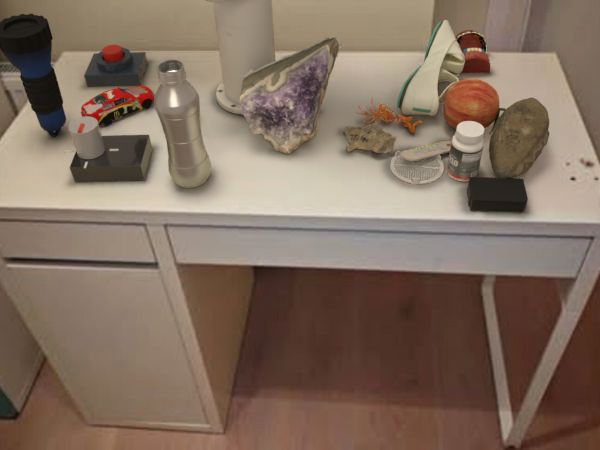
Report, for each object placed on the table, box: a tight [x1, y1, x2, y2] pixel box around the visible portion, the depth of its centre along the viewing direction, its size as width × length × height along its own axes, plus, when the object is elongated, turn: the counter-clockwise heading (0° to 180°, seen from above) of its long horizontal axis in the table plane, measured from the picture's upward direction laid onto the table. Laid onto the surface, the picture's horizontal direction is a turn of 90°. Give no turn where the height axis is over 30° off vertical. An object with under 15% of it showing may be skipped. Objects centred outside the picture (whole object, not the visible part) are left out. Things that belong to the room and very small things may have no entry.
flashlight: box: [0, 13, 67, 138], centre depth 105 cm, size 8×8×20 cm
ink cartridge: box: [466, 176, 529, 214], centre depth 96 cm, size 5×2×8 cm
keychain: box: [401, 140, 452, 161], centre depth 104 cm, size 10×1×3 cm
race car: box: [80, 84, 155, 127], centre depth 115 cm, size 13×5×4 cm, turn 126°
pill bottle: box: [446, 121, 486, 182], centre depth 98 cm, size 5×5×8 cm
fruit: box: [442, 78, 507, 135], centre depth 106 cm, size 9×10×10 cm
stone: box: [488, 97, 550, 178], centre depth 100 cm, size 17×9×8 cm, turn 156°
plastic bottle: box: [153, 58, 212, 189], centre depth 95 cm, size 6×7×20 cm
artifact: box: [342, 121, 398, 154], centre depth 106 cm, size 7×3×10 cm
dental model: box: [455, 29, 491, 74], centre depth 122 cm, size 7×5×10 cm
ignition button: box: [101, 44, 123, 62], centre depth 122 cm, size 4×4×2 cm
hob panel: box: [63, 134, 153, 183], centre depth 104 cm, size 13×9×3 cm
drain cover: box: [389, 150, 445, 185], centre depth 102 cm, size 8×8×1 cm
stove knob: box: [67, 116, 105, 159], centre depth 101 cm, size 4×4×5 cm
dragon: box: [355, 97, 423, 134], centre depth 109 cm, size 4×11×4 cm, turn 68°
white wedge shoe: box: [396, 19, 465, 116], centre depth 115 cm, size 8×24×8 cm
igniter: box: [83, 46, 148, 88], centre depth 124 cm, size 10×8×4 cm
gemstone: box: [240, 36, 343, 155], centre depth 105 cm, size 18×16×14 cm
